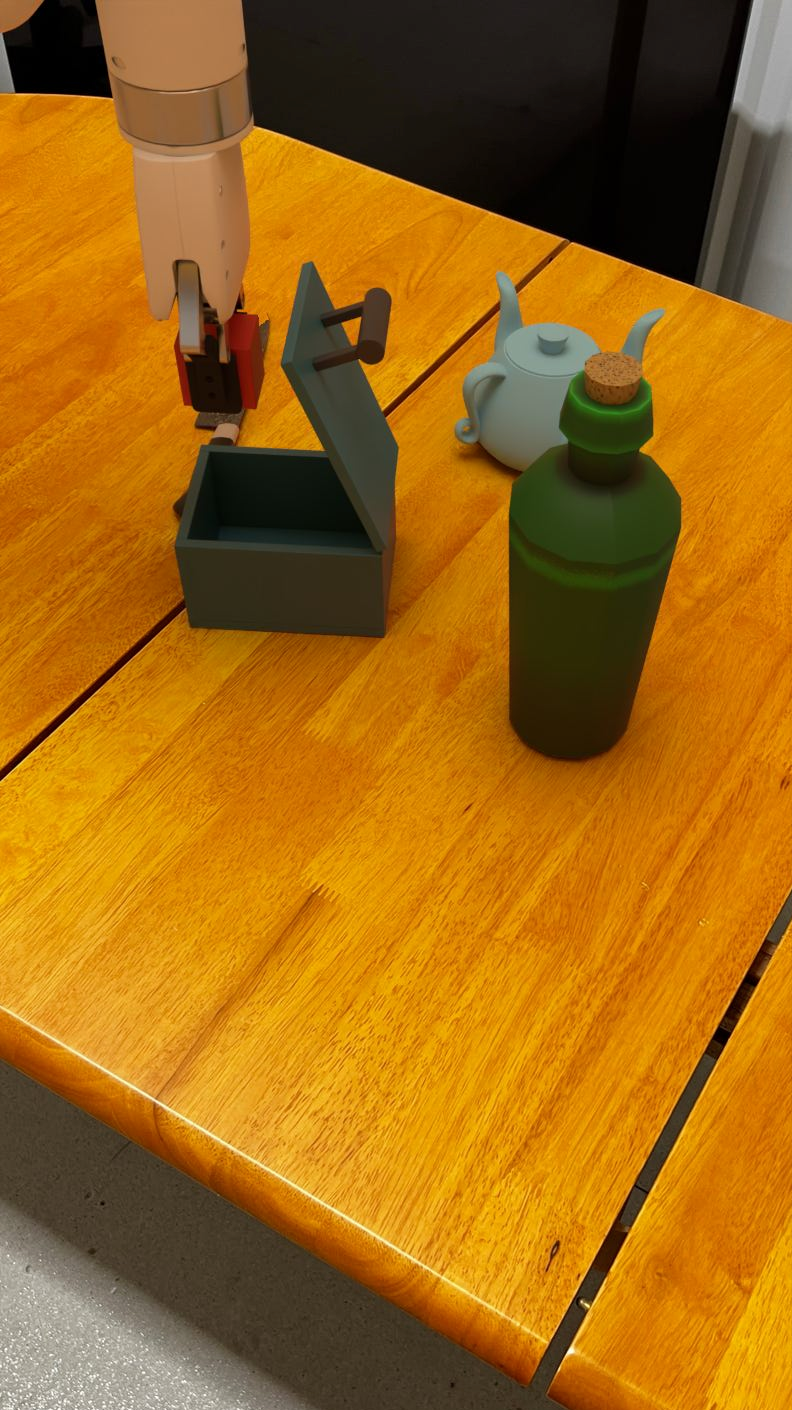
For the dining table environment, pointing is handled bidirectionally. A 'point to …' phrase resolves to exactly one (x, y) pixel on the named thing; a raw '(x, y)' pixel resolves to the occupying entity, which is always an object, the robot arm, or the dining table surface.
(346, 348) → the lid
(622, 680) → the bottle
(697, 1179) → the dining table surface
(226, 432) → the knife
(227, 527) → the cool box
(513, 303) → the teapot
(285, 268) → the dining table surface
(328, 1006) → the dining table surface
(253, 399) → the red block
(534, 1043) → the dining table surface
